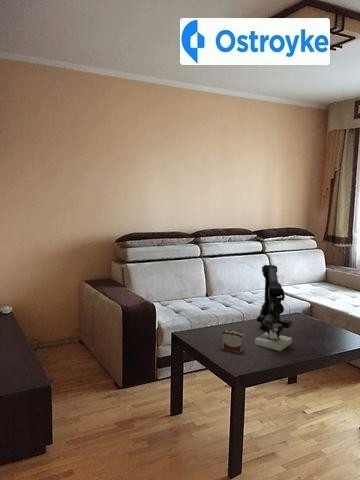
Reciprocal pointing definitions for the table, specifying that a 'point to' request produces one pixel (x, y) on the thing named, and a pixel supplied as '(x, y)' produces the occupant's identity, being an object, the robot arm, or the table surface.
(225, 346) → the food container
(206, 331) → the table surface
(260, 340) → the bore block
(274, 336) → the gray cylinder
